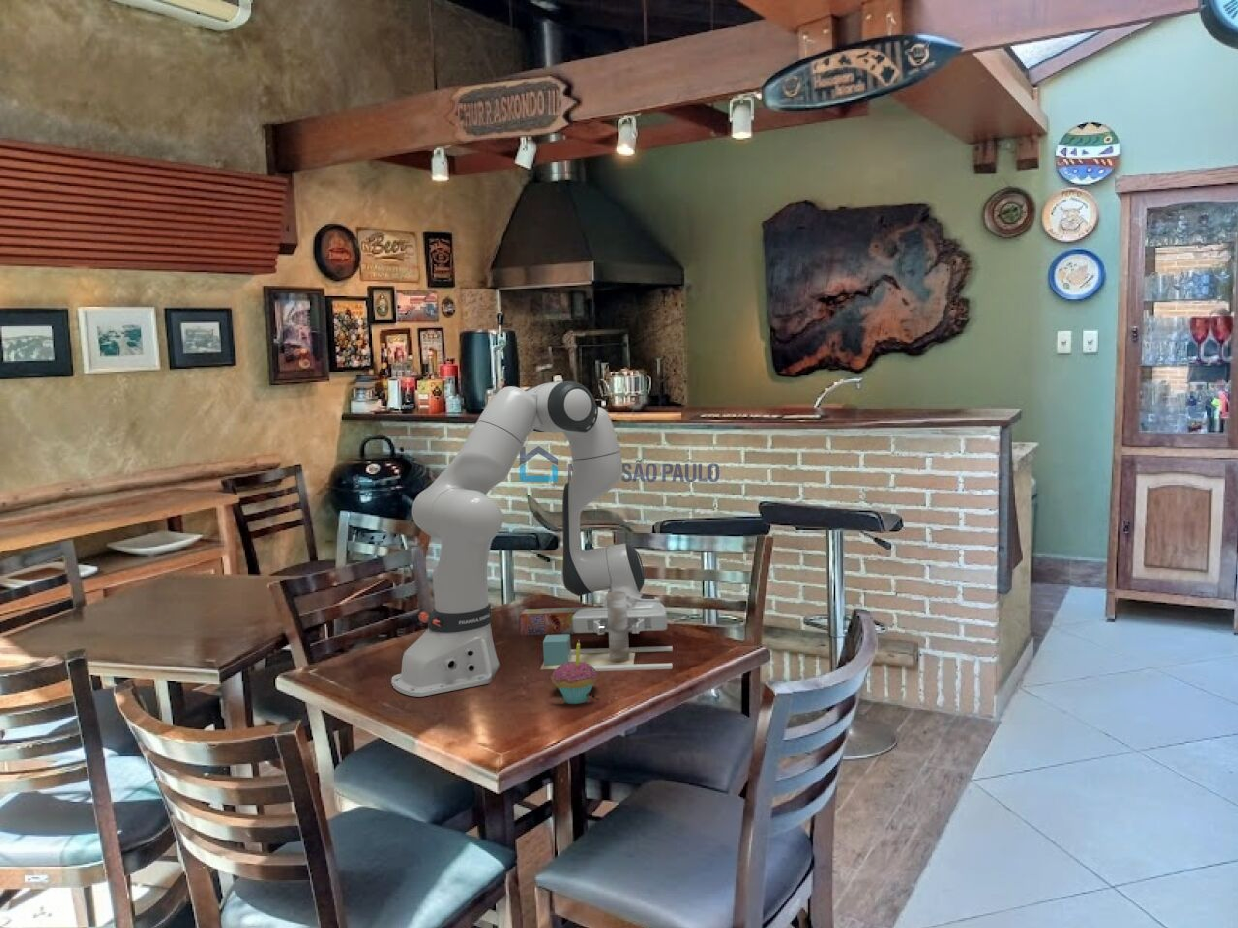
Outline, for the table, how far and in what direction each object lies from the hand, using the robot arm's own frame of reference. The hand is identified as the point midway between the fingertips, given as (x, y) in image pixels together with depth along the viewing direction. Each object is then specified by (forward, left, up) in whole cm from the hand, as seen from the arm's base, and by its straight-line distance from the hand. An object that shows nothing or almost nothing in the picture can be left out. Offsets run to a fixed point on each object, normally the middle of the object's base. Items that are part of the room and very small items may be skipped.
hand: (617, 630), depth 187 cm
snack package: (+5, +29, -8) cm, 30 cm away
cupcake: (-17, -9, -8) cm, 20 cm away
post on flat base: (-4, +5, -8) cm, 10 cm away
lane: (+1, +1, -8) cm, 8 cm away
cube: (-9, +9, -6) cm, 15 cm away
